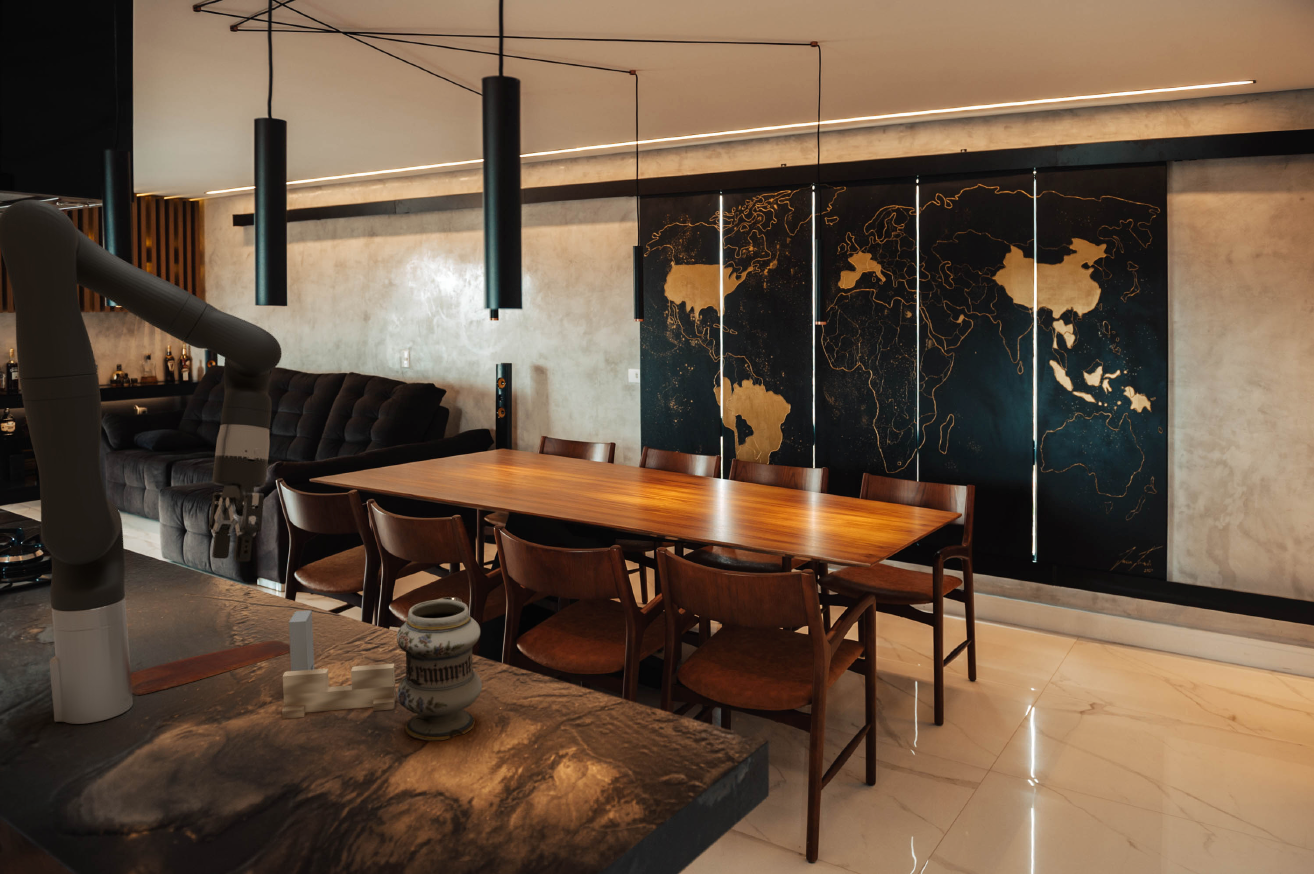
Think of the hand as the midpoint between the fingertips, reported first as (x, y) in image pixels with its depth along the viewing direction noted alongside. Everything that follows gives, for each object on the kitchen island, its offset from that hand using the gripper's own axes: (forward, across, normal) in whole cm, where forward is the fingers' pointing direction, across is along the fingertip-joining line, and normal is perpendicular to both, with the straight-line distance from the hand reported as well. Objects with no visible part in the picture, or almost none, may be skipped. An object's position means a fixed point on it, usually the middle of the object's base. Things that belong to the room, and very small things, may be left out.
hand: (230, 559), depth 132 cm
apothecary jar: (+23, +28, +22) cm, 42 cm away
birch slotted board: (+22, +12, +14) cm, 28 cm away
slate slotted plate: (+20, 0, +13) cm, 24 cm away
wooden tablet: (+20, -20, +7) cm, 29 cm away
